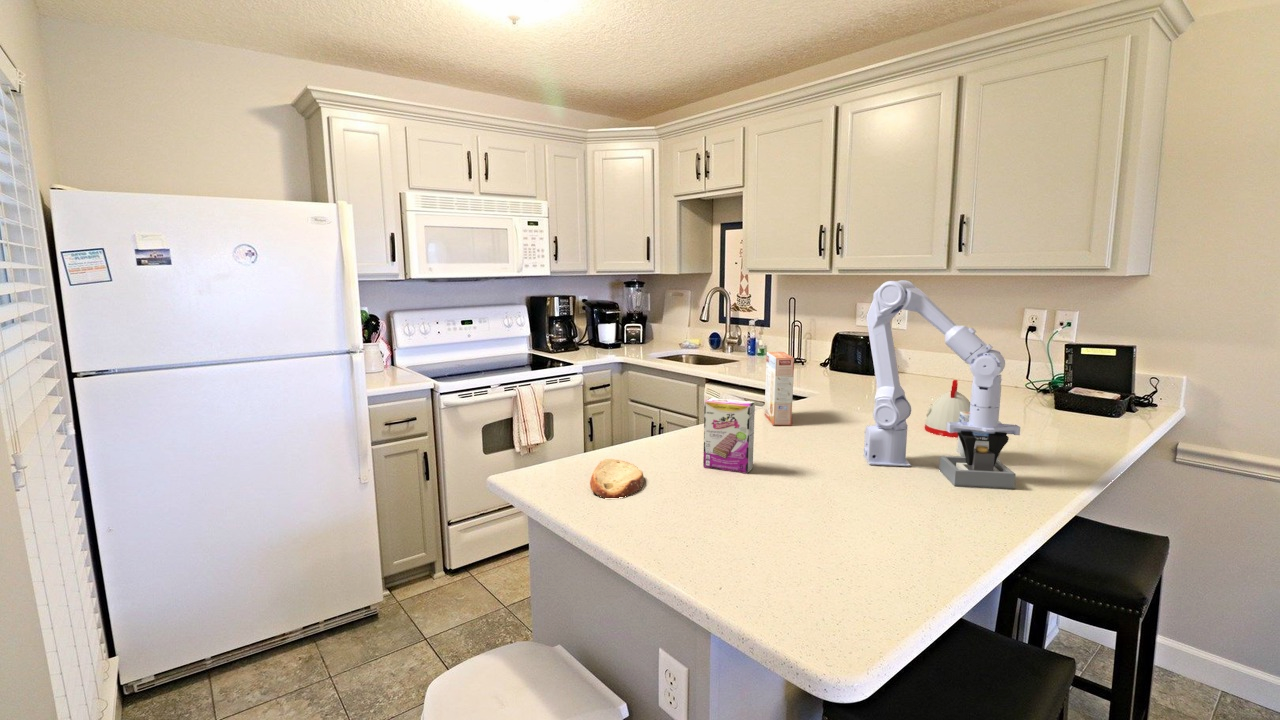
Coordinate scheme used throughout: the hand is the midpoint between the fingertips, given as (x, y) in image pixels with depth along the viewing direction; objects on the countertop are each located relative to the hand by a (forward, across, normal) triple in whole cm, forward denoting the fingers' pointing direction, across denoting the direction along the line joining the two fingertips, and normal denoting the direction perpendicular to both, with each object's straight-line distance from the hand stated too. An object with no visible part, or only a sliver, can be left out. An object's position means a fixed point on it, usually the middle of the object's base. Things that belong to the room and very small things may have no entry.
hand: (980, 464), depth 139 cm
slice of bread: (+4, -81, -14) cm, 83 cm away
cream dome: (+4, +7, +42) cm, 43 cm away
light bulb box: (+4, +5, +16) cm, 17 cm away
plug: (+2, 0, 0) cm, 2 cm away
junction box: (+3, -1, 0) cm, 4 cm away
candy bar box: (+4, -56, -1) cm, 56 cm away
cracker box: (+4, -42, +48) cm, 63 cm away
